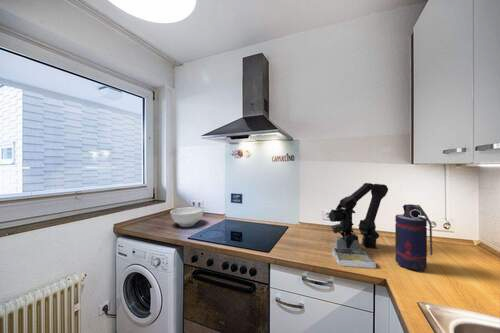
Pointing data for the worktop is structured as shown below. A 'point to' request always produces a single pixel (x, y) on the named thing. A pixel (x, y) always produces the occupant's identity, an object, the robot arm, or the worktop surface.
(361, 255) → the rack
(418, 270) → the grenade
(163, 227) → the worktop surface
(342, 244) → the panel
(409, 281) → the worktop surface
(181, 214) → the decorative bowl
